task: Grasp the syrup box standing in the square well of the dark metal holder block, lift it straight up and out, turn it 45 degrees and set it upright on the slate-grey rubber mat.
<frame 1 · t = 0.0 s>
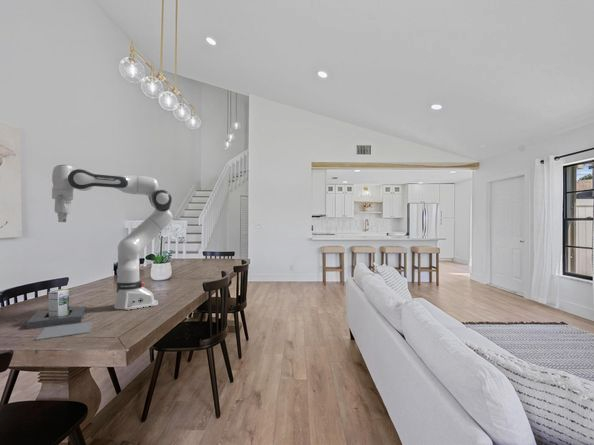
hand: (62, 222, 160), 48 cm above the table, tool pointing down, fingers open, 8 cm apart
grey mat: (66, 330, 135), on the table
syrup box: (58, 320, 150), resting in holder block
holder block: (58, 319, 150), on the table
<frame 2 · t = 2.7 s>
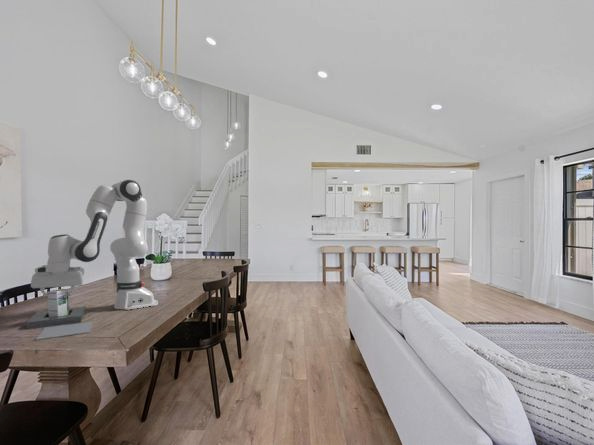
hand: (57, 296, 150), 12 cm above the table, tool pointing down, fingers open, 8 cm apart
nothing on the table moved.
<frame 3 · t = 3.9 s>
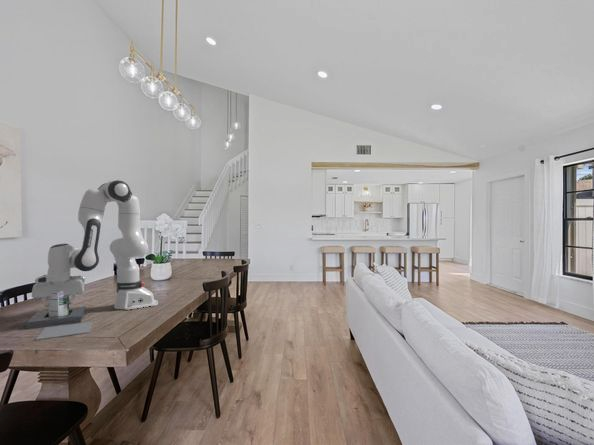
hand: (58, 305, 150), 7 cm above the table, tool pointing down, fingers closed on syrup box, 8 cm apart
syrup box: (58, 320, 150), resting in holder block, touching gripper
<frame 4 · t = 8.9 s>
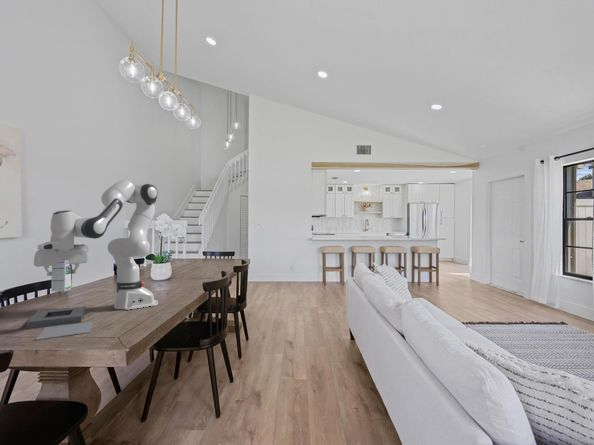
hand: (62, 274, 143), 23 cm above the table, tool pointing down, fingers closed on syrup box, 8 cm apart
syrup box: (61, 290, 143), point 16 cm above the table, touching gripper
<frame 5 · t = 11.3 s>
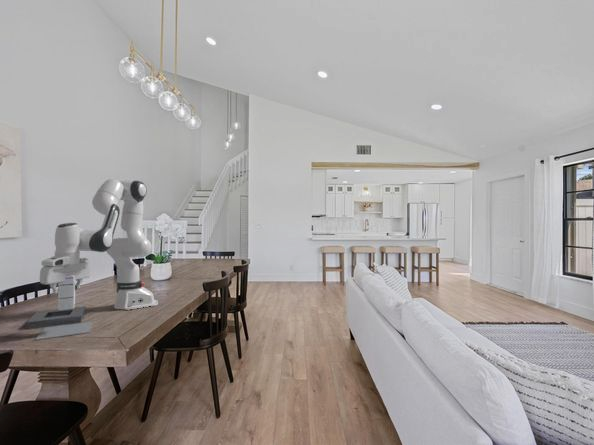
hand: (66, 291, 135), 17 cm above the table, tool pointing down, fingers closed on syrup box, 8 cm apart
syrup box: (66, 308, 134), point 10 cm above the table, touching gripper
when the fingers open (9 cm above the table, at t = 13.8 s): syrup box drops 1 cm, resting on grey mat.
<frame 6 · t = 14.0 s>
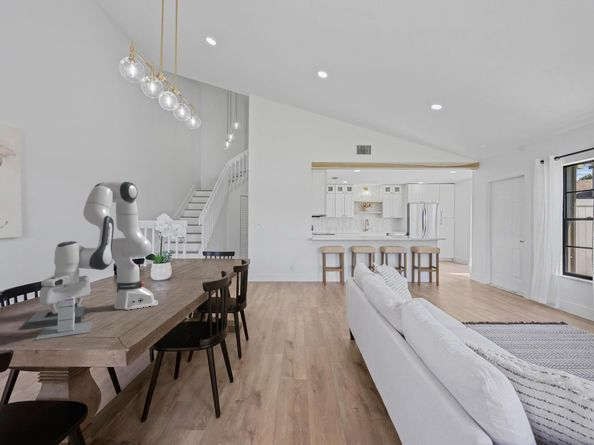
hand: (66, 310, 135), 9 cm above the table, tool pointing down, fingers open, 8 cm apart
syrup box: (65, 330, 134), resting on grey mat, touching gripper
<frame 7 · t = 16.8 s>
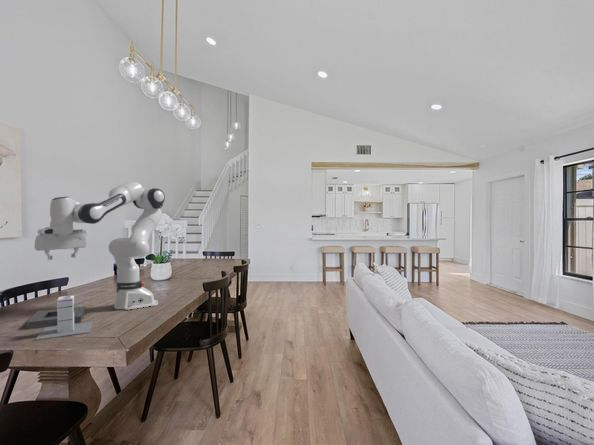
hand: (62, 258, 148), 30 cm above the table, tool pointing down, fingers open, 8 cm apart
syrup box: (65, 330, 134), resting on grey mat
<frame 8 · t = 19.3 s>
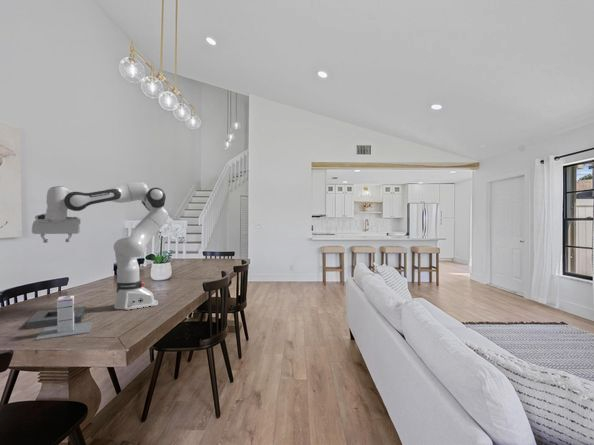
hand: (56, 242, 164), 37 cm above the table, tool pointing down, fingers open, 8 cm apart
nothing on the table moved.
at the end: syrup box inside the target area (0.3 cm from its centre), resting on grey mat; syrup box tilted 0°; the gripper is holding nothing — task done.
